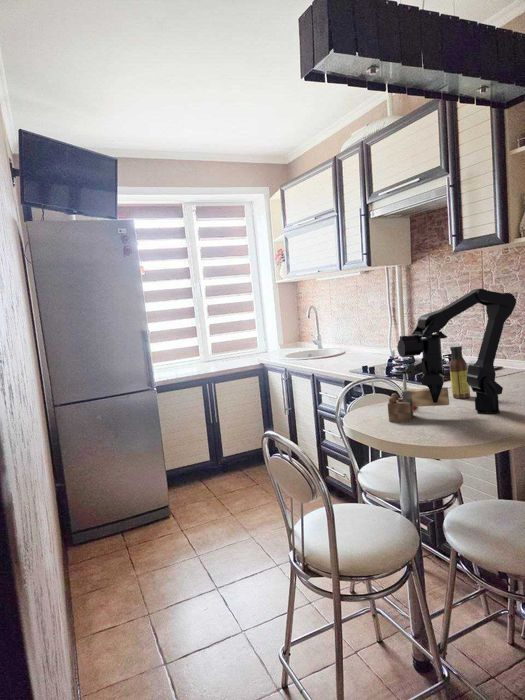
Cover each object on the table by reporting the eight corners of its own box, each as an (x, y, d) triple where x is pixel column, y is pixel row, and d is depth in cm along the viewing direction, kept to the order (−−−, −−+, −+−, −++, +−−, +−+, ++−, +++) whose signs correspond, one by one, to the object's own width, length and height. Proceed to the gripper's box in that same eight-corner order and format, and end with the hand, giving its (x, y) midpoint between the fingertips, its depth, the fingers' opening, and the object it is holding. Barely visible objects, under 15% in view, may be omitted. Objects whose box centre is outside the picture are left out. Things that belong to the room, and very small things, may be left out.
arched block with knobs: (413, 415, 149) (411, 392, 148) (411, 421, 141) (409, 397, 141) (392, 415, 151) (390, 392, 151) (389, 421, 144) (387, 397, 144)
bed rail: (449, 402, 142) (447, 387, 141) (449, 405, 138) (447, 389, 138) (404, 404, 147) (402, 389, 147) (403, 406, 144) (401, 392, 143)
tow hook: (391, 406, 166) (395, 410, 157) (388, 372, 166) (392, 375, 157) (414, 404, 165) (419, 409, 156) (411, 371, 165) (416, 373, 155)
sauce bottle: (471, 395, 168) (468, 344, 166) (469, 399, 162) (465, 346, 161) (453, 395, 171) (449, 345, 170) (450, 398, 166) (446, 347, 164)
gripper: (408, 351, 152) (412, 395, 153) (402, 359, 135) (406, 408, 136) (443, 349, 147) (446, 394, 149) (441, 356, 130) (445, 407, 132)
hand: (435, 401), depth 141 cm, fingers closed on bed rail, 4 cm apart
